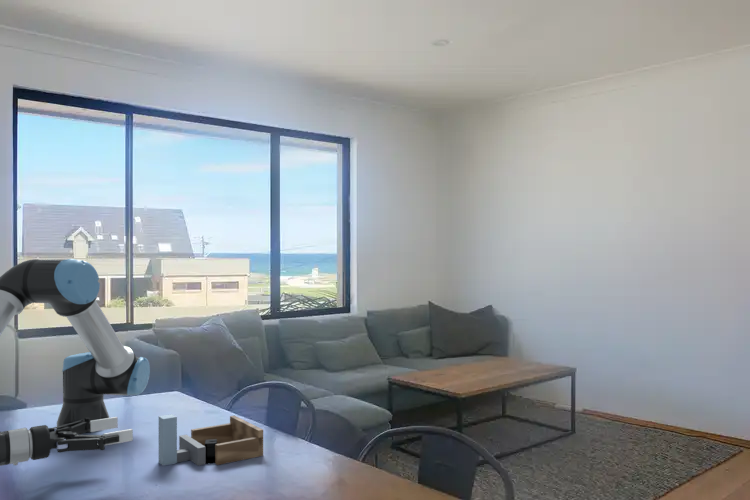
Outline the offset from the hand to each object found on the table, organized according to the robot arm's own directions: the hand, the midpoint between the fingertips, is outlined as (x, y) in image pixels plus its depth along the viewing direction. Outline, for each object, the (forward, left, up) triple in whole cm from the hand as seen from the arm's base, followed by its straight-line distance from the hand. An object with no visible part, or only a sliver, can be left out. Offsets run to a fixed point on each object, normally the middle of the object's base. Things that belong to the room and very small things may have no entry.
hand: (124, 428), depth 163 cm
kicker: (0, +14, -11) cm, 17 cm away
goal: (0, +27, -11) cm, 29 cm away
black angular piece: (+2, +22, -12) cm, 25 cm away
